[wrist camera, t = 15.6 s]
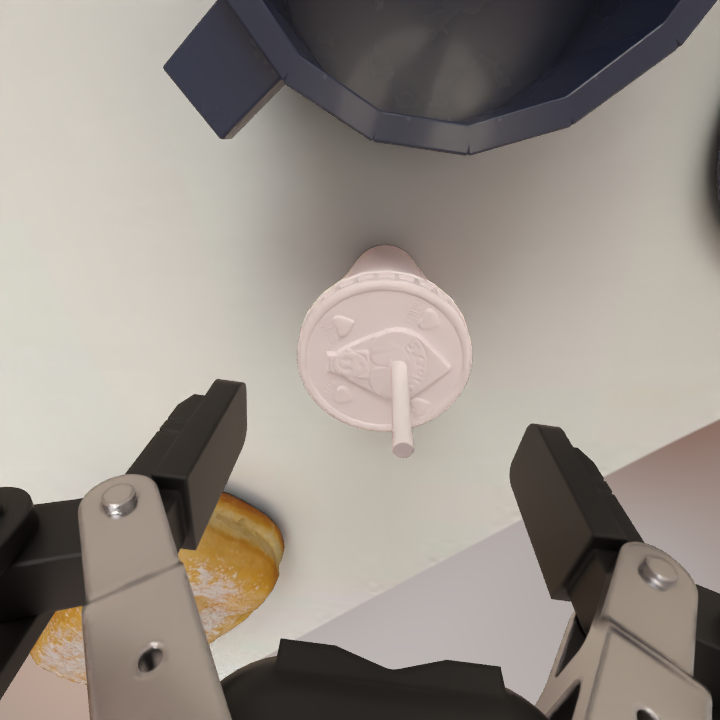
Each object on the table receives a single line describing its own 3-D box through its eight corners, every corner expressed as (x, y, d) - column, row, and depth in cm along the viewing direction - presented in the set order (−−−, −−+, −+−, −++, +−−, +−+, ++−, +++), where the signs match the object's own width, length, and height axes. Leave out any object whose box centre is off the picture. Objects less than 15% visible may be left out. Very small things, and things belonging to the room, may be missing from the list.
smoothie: (434, 331, 24) (483, 535, 12) (329, 326, 24) (272, 522, 12) (448, 220, 21) (534, 346, 9) (327, 217, 21) (246, 335, 9)
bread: (51, 584, 41) (-17, 676, 34) (170, 442, 30) (106, 535, 23) (168, 635, 45) (129, 727, 38) (311, 526, 34) (292, 627, 27)
